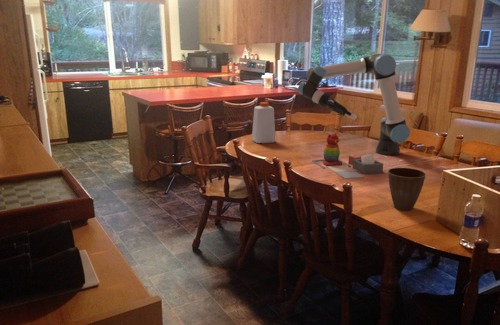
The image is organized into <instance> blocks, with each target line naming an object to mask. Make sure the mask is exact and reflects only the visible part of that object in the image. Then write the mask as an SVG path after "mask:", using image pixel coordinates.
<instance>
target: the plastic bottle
mask: <svg viewBox="0 0 500 325" xmlns="http://www.w3.org/2000/svg"><path fill="white" fill-rule="evenodd" d="M252 120H253V121H252V133H251V139H252V141H253V142H254V143H257V144H260V143H262V144H272V143H275V142H276V127H275V124H276V123H275V108H274V107H273V106H270V105H269V102H267V101H265V102H263V101H262V102H259V105H257V106H254V108H253V119H252Z"/></svg>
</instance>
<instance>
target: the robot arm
mask: <svg viewBox="0 0 500 325" xmlns="http://www.w3.org/2000/svg"><path fill="white" fill-rule="evenodd" d="M396 68H397V62H396V60H395V58H394V57H393V56H392V55H390V54H387V53H375V54H373V55H369V56H364V57H361V58H360V59H357V60H351V61H347V62H342V63H336V64H335V63H334V64H329V65H324V66H320V65H318V64H315V65H314V67H311V68H309V69H308V70H307V71H306V73H305V75H306V78H307V79H306V81H301V82H300V84H298V87H297V92H298V93H299V94H300V95H302V96H303V97H304V98H307V99H309V100H310V101H312V103H316V104H318V105H319V106H320V107H321V108H322V107H323V108H326V107H327V108H329V109H330V111H331V112H335V113H337V114H338V115H341V116H342V117H345V116H346V117H348V118H349V119H351V120H352V121H356V119H357V118H358V115H357V114H354V113H353V112H351V111H349V110H348V109H347V108H346V106H344V105H342V104H341V103H340V102H338V101H336V100H335V99H334V98H331V95H329V94H328V93H325V92H324V91H323V90H321V89H319V85H320V84H321V82H322V80H325V79H330V78H336V77H341V76H347V75H353V74H359V73H360V74H361V73H362V74H367V73H368V74H371V73H372V74H374V75H373V76H374V78H375V81H377V82H378V84H379V89H380V93H381V98H382V103H383V107H384V110H385V115H386V117H382V118H381V119H380V129H379V140H378V143H377V145H376V147H375V153H376V154H379V155H385V156H397V155H399V154H400V153H401V149H400V145H399V143H404V142H406V141H408V140H409V137H410V136H411V130H410V127H409V126H408V125H407V120H406V118H405V117H404V116H402V111H401V106H400V102H399V97H398V91H397V88H396V83H395V77H396V75H397V74H396Z"/></svg>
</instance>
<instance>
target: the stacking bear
mask: <svg viewBox="0 0 500 325" xmlns="http://www.w3.org/2000/svg"><path fill="white" fill-rule="evenodd" d="M339 142H340V138H339V136H338V135H337V133H331V134H328V135H327V137H326V144H325V146H324V148H323V160H324V161H322V164H323V166H326V167H327V166H342V165H343V163H342V162H341V161H339V160H338V159H340V153H341V152H340V146H339V144H338V143H339Z"/></svg>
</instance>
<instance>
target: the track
mask: <svg viewBox="0 0 500 325" xmlns="http://www.w3.org/2000/svg"><path fill="white" fill-rule="evenodd" d="M338 160H339V161H341V162H342V165H335V166H326V167H325V166H324V165H322V164H320V163H319V162H323V161H324V159H313V160H311V161H312V162H313V163H314V164H316V165H317V166H319V167H320V168H322V169H326V168H327V169H328V170H330V171H332V172H333V173H336V175H338V176H340V177H342V179H359V178H364V177H365V176H364V175H363V174H361V173H360V172H359V173H358V171H356V170H354V169H353V168H350V167H352V165H350V164H348V163H347V162H345V161H343V160H341V159H340V158H339V159H338ZM343 164H344V165H343Z"/></svg>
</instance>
